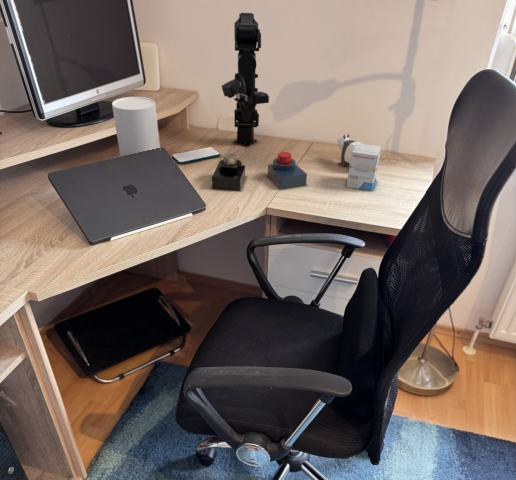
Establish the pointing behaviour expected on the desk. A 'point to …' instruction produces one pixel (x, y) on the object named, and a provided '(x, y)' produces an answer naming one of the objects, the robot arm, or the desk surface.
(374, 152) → the ink box
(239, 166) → the light box
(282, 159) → the button
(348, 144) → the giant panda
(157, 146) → the canister
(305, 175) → the box
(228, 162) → the light button
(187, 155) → the smartphone
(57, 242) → the desk surface
